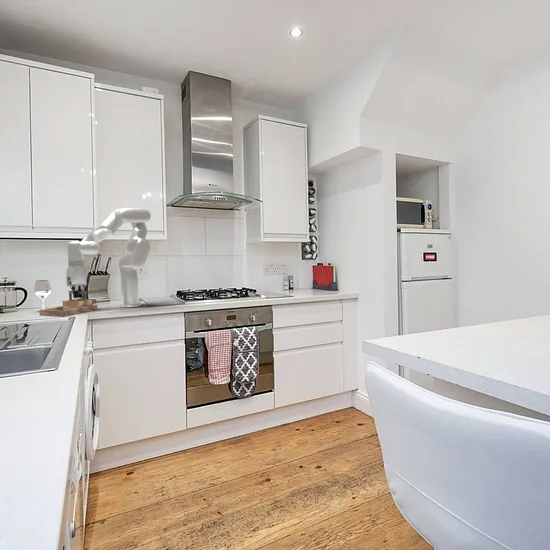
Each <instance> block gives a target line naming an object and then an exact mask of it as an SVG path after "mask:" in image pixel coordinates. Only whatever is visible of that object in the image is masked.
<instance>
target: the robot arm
mask: <svg viewBox="0 0 550 550" xmlns="http://www.w3.org/2000/svg"><path fill="white" fill-rule="evenodd" d="M151 214H152V213H150V210H148V209H147V208H144V207H143V208H142V207H141V208H139V207H138V208H136V207H135V208H134V207H133V208H132V207H130V208H129V207H122V208H117V209H114V210H113V211H112V212H111V213H110V214H109V215H108V216H107V217H106V218H105V220H103V222H101V223H100V224H99V225H98V226H97V227H96V228H95V229H93V230H92V231H91V232H89V233H88V234H87V235H86V236H85V237H84V238H83V239H82V240H81V241H69V242H68V243H67V262H68V263H67V264H68V265H67V267H66V272H65V285H66V287H67V288H68V289H70V290H71V291H73V294H72V299H82V298H83V294H78V291H84V288H85V287H86V286H87V285H88V283H87V272H86V267H85V264H86V263H85V261H84V260H85V259H84V255H86V256H89V255H90V256H91V255H92V256H94V255H97V254H98V253H99V252H100V249H101V248H100V247H101V246H100V244H99V243H101V242H102V241H104V240H106V239H108V238H110V237H112V236H113V235H114V234H115V233H116V232H117V231H118V230H119V229H120V228H121V226H122V225H123V224H127V223H130V224H131V225H132V231H131V234H130V237H129V238H128V242H127V246H126V249H127V252H128V253H130V254H124V255H122V256H121V257H119V260H118V268H119V271H120V272H119V273H120V286H121V288H120V289H121V292H120V293H121V304H119V305H118V307H119V308H136V307H141V306H142V303H140V302H143V301H144V299H143V298H142V297H141V298H139V283H138V281H139V279H138V272H137V271H140V270H142V269H143V268H144V266H145V264H146V262H147V259H148V256H149V253H150V250H151V244H150V242H149V240H148V239H146V237H147V234H148V228H147V224H146V223H147V222H149V221H150V219H151V216H152V215H151Z"/></svg>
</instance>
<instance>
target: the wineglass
mask: <svg viewBox="0 0 550 550" xmlns="http://www.w3.org/2000/svg"><path fill="white" fill-rule="evenodd" d="M33 293H34V295H35V296H37V297H38V298H39V299H41V300H42V301H41V302H42V303H41V304H42V309H45V299H46V298H47V297H48V296H50V294H51V293H52V288H51V285H50V281H49V279H44V280H43V279H39V280H36V281H35V283H34V287H33Z"/></svg>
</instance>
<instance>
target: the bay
mask: <svg viewBox="0 0 550 550" xmlns="http://www.w3.org/2000/svg"><path fill="white" fill-rule="evenodd" d="M94 311H98V305H97V304H93V305H92V306H87V307H81V308H76V309H70V310H65V311H63V305H61V306H56V307H49V308H44V309H43V308H42V309H39V316H44V317H45V316H46V317H60V318H64V317H69V316H75V315H81V314H85V313H90V312H94Z"/></svg>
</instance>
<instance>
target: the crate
mask: <svg viewBox="0 0 550 550" xmlns="http://www.w3.org/2000/svg"><path fill="white" fill-rule="evenodd" d="M67 291H68V298H69V299H66V300H62V306H63V311H65V310H70V309H76V308H81V307H87V306H92V305H94V299H93V298H87V294H88V293H87V292H88V291H87V290H82V291H78V294H82V295H83V298H73V291H72V290H67Z"/></svg>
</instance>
